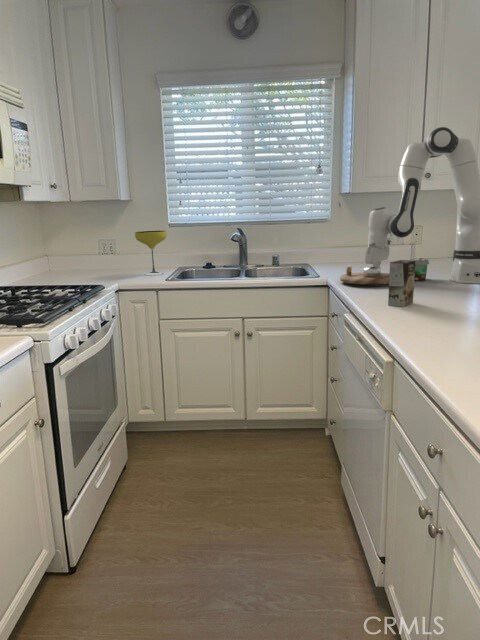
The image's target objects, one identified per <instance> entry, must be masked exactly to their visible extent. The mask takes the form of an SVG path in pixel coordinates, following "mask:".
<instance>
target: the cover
mask: <svg viewBox="0 0 480 640" xmlns="http://www.w3.org/2000/svg"><path fill="white" fill-rule="evenodd" d="M381 270H382V268H381V266H380V267H373V266H364V267H363V270H362V273H363V276H364V277H380V276H381V273H382V272H381Z"/></svg>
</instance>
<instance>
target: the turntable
mask: <svg viewBox="0 0 480 640" xmlns="http://www.w3.org/2000/svg"><path fill="white" fill-rule="evenodd" d="M352 269H353V268H352V266H346V271H345V272H346V273H345V274H342V275H340V277H339V281H341V282H343V283H347V284H351V285H352V284H354V285H359V284H365V285H364V286H379V285H378V284H383V285H389V275H390V272H389V273H388V272H381V276H380V277H364V276H363V272H352V271H353V270H352Z"/></svg>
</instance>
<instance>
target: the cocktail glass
mask: <svg viewBox="0 0 480 640" xmlns="http://www.w3.org/2000/svg"><path fill="white" fill-rule="evenodd" d="M134 237H135V239H136V241H138V242H140V243H142V244H144V245H146V246H147V247H148V248H149V249H150V250H151V257H152V258H151V260H152V271H151V272H149V273H159V271H156V270H155V264H154V263H155V261H154V252H153V251H154V249H155V247H156V246H157V245H159V244H160V243H162V242H163V241H165V239H167V231H166V230H146V231H136V232H134Z"/></svg>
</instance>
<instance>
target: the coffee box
mask: <svg viewBox="0 0 480 640" xmlns="http://www.w3.org/2000/svg"><path fill="white" fill-rule="evenodd" d="M415 261H416V260H408V259H407V260H406V259H405V260H404V259H399V260H394V261H391V262H389V273H390V275H389V284H388V299H387V305H388V306H394V307H402V308H403V307H407V306H409V305H411V304H413V302H414V293H415V292H414V291H415V290H414V289H415V281H414V277H415Z"/></svg>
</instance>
